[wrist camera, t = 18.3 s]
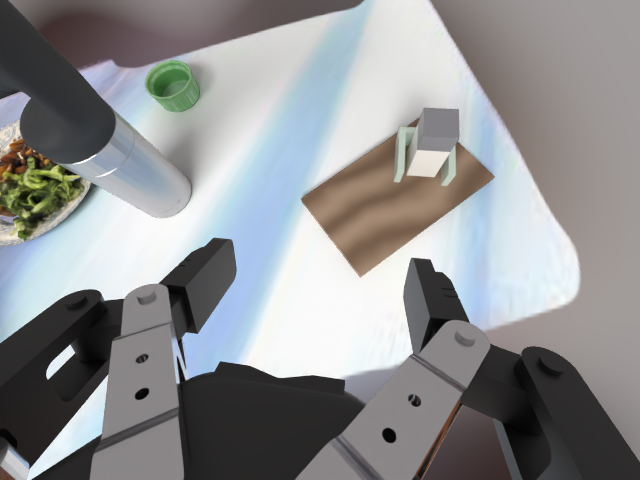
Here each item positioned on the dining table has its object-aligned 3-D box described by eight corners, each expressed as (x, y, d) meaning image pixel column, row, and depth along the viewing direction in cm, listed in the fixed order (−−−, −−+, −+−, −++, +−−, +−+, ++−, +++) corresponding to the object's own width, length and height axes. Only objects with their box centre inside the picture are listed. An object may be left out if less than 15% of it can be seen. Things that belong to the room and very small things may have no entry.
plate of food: (97, 237, 48) (65, 224, 43) (-53, 259, 49) (-105, 249, 43) (116, 111, 57) (91, 86, 52) (-12, 131, 58) (-51, 109, 52)
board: (301, 201, 47) (300, 198, 46) (424, 117, 50) (426, 112, 49) (360, 277, 43) (360, 276, 42) (491, 180, 45) (494, 177, 44)
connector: (434, 177, 45) (459, 138, 36) (406, 175, 46) (423, 136, 36) (434, 153, 46) (458, 109, 37) (407, 151, 47) (423, 107, 37)
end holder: (447, 185, 45) (455, 174, 41) (393, 182, 45) (397, 170, 42) (447, 143, 47) (455, 129, 43) (395, 140, 48) (399, 126, 44)
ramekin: (150, 106, 56) (134, 88, 51) (176, 73, 58) (162, 54, 53) (186, 121, 54) (172, 104, 50) (210, 87, 56) (200, 67, 52)
